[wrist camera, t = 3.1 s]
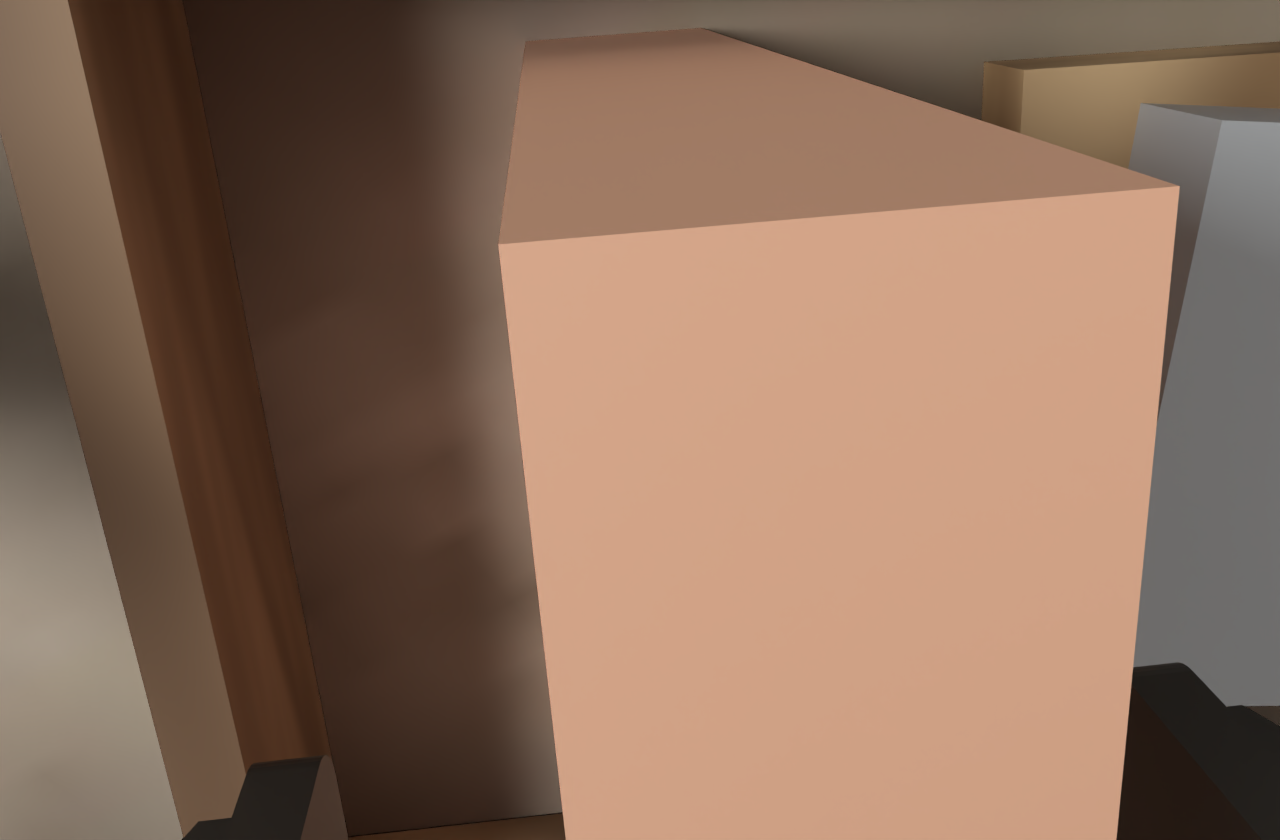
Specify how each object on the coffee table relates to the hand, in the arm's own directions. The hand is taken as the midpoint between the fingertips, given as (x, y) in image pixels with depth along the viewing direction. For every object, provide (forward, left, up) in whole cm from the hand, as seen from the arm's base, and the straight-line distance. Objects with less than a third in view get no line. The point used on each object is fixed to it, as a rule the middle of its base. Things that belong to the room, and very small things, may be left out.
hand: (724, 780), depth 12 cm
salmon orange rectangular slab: (0, 0, -11) cm, 11 cm away
